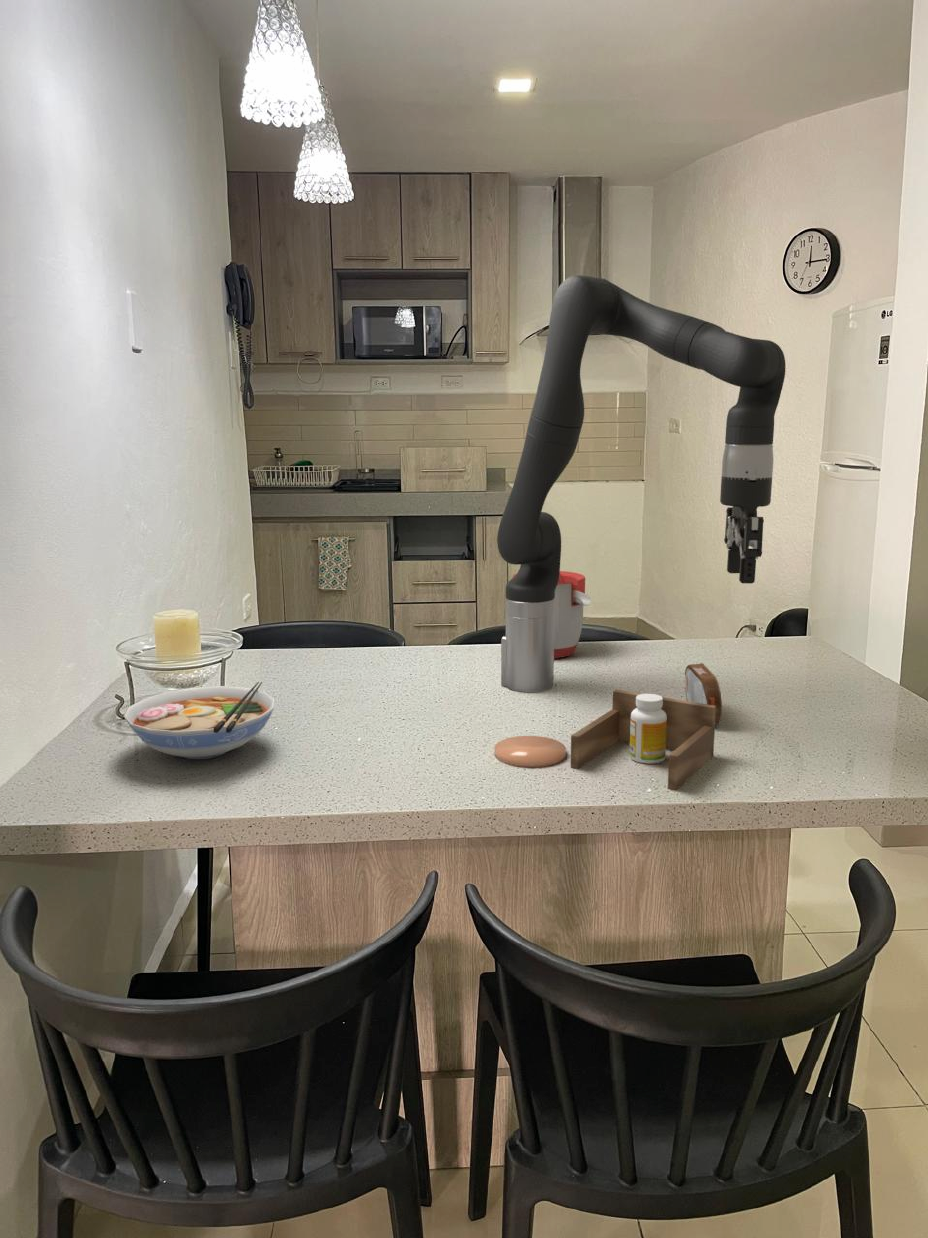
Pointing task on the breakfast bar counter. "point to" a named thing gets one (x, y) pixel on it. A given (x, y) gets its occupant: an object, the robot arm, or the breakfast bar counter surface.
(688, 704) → the cubby
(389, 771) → the breakfast bar counter surface
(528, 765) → the coaster
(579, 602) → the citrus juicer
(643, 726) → the supplement bottle
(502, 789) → the breakfast bar counter surface
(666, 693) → the breakfast bar counter surface
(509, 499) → the robot arm
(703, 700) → the tin
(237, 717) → the ramen bowl
